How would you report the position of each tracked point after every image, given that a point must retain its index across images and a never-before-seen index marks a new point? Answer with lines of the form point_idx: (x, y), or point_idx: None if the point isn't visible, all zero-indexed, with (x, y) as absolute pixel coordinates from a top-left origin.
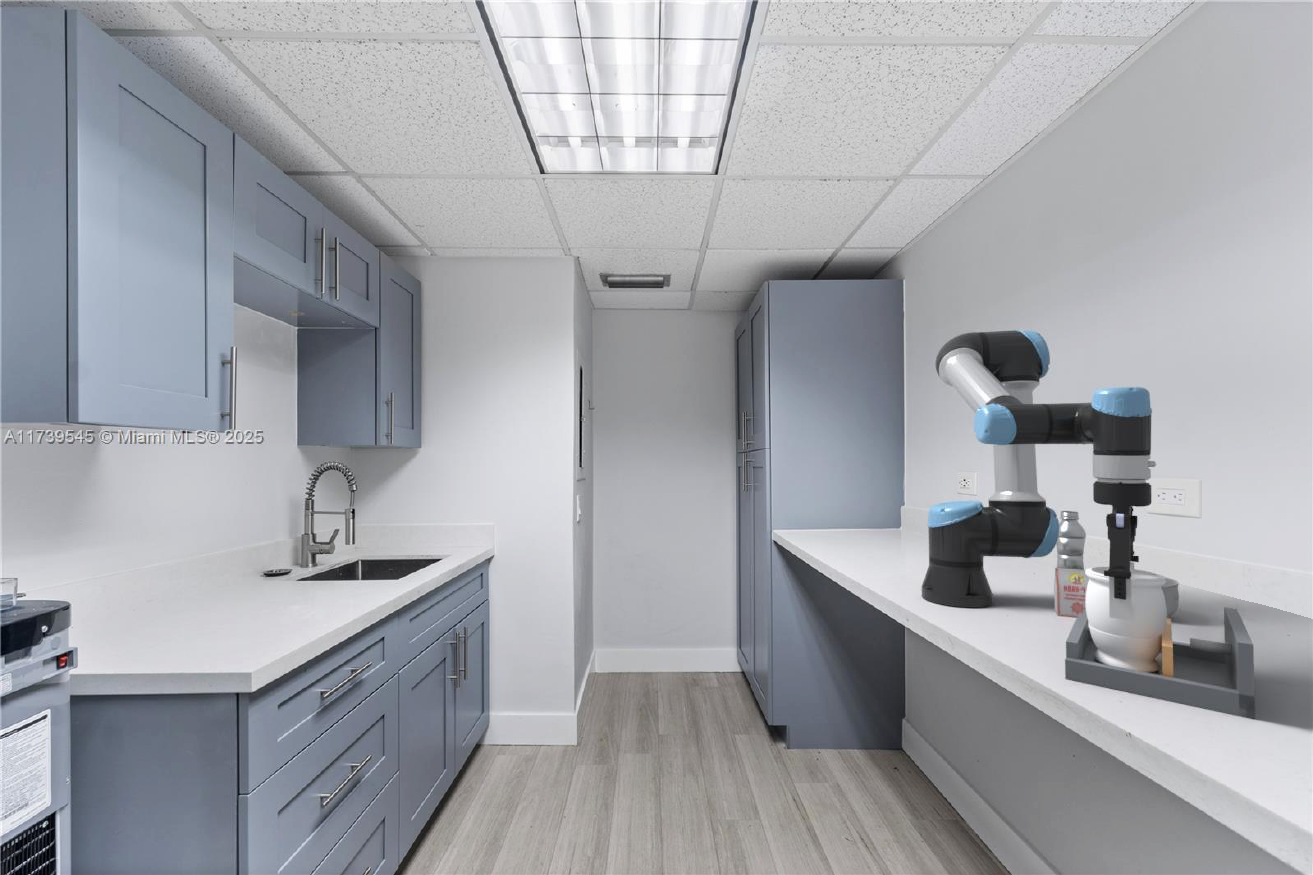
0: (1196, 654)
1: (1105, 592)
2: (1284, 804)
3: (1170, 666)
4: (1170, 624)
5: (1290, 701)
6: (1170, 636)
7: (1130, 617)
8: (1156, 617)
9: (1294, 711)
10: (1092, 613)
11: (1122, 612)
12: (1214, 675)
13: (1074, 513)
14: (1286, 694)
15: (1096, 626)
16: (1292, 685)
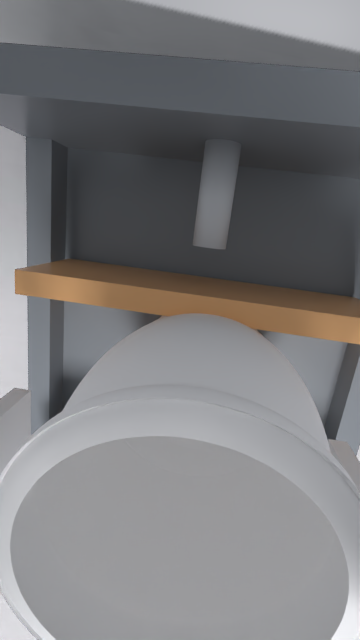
0: (61, 207)
1: (297, 573)
2: None
3: None
4: (100, 283)
5: (241, 52)
6: (265, 308)
7: (349, 451)
8: (294, 370)
9: (315, 60)
10: (247, 514)
11: None
12: (181, 191)
13: None
14: (188, 49)
15: (247, 475)
16: (102, 17)
